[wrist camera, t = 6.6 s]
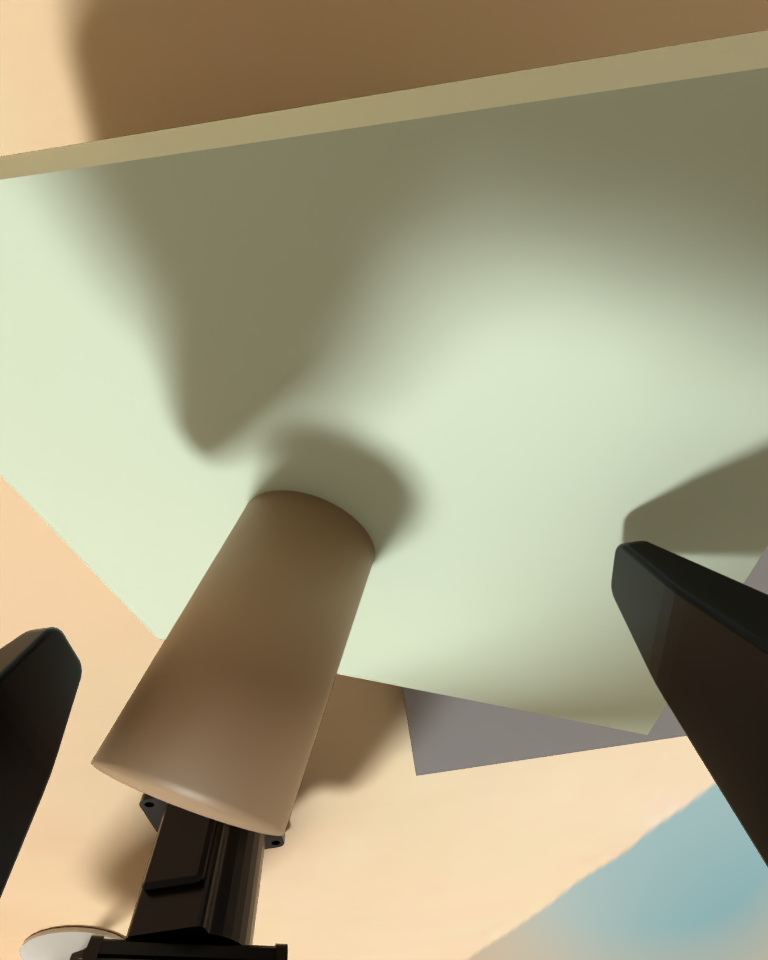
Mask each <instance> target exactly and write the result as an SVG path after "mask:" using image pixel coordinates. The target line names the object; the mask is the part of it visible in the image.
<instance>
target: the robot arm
mask: <svg viewBox="0 0 768 960" xmlns="http://www.w3.org/2000/svg"><path fill="white" fill-rule="evenodd" d="M611 589H612V594H613V597H614V599H615V601H616V604H617V606H618V608H619V610H620V612H621V614H622V616H623V618H624V620H625V622H626V624H627V627H628V629H629V631H630V633H631V635H632V637H633V639H634V641H635V643H636V645H637V647H638V649H639V652H640V654H641V656H642V658H643V660H644V662H645V664H646V666H647V668H648V670H649V672H650V674H651V676H652V678H653V680H654V682H655V684H656V686H657V687H658V689H659V691H660V692H661V694H662V696H663V698H664V699H665V701H666V703H667V704H668V706H669V707H670V709H671V711H672V712H673V714H674V716H675V717H676V719H677V720H678V722H679V724H680V725H681V727H682V729H683V730H684V732H685V733H686V735H687V737H688V738H689V740H690V742H691V743H692V745H693V746H694V748H695V750H696V751H697V753H698V755H699V756H700V758H701V759H702V761H703V763H704V764H705V766H706V768H707V769H708V771H709V772H710V774H711V776H712V777H713V779H714V781H715V782H716V784H717V785H718V787H719V789H720V790H721V792H722V793H723V795H724V797H725V798H726V800H727V802H728V803H729V805H730V807H731V808H732V810H733V811H734V813H735V814H736V816H737V818H738V820H739V821H740V823H741V825H742V826H743V828H744V829H745V831H746V833H747V834H748V836H749V837H750V839H751V841H752V842H753V844H754V846H755V847H756V849H757V850H758V852H759V854H760V855H761V857H762V859H763V860H764V862H765V863H766V865H767V867H768V594H766V593H763V592H761V591H759V590H757V589H754V588H752V587H750V586H747V585H745V584H743V583H741V582H738V581H736V580H734V579H731V578H729V577H727V576H725V575H722V574H720V573H718V572H716V571H713V570H711V569H709V568H706V567H704V566H702V565H700V564H697V563H695V562H693V561H691V560H688V559H686V558H684V557H681V556H679V555H677V554H675V553H672V552H670V551H668V550H666V549H663V548H661V547H659V546H656V545H654V544H652V543H650V542H647V541H635V542H628V543H622V544H620V545H618V546H617V548H616V551H615V556H614V564H613V572H612V579H611ZM81 673H82V669H81V663H80V660H79V659H78V657H77V655H76V654H75V652H74V650H73V649H72V647H71V645H70V644H69V642H68V640H67V639H66V637H65V635H64V634H63V632H62V631H61V630H59V629H58V628H54V627H49V628H42V629H35V630H30V631H27V632H25V633H23V634H22V635H20V636H19V637H17V638H16V639H14V640H13V641H11V642H10V643H8V644H7V645H6V646H4V647H3V648H1V649H0V898H1V895H2V893H3V890H4V888H5V885H6V883H7V881H8V878H9V876H10V873H11V871H12V868H13V866H14V864H15V861H16V859H17V856H18V854H19V851H20V849H21V847H22V844H23V842H24V839H25V837H26V834H27V832H28V830H29V827H30V825H31V822H32V820H33V817H34V815H35V813H36V810H37V808H38V805H39V803H40V800H41V798H42V796H43V793H44V791H45V788H46V785H47V783H48V780H49V778H50V775H51V772H52V769H53V766H54V763H55V760H56V757H57V754H58V751H59V747H60V744H61V741H62V738H63V734H64V731H65V728H66V725H67V721H68V718H69V715H70V712H71V708H72V705H73V702H74V699H75V695H76V692H77V689H78V686H79V682H80V679H81ZM140 807H141V808H142V810H143V811H144V813H145V815H146V816H147V818H148V819H149V821H150V822H151V824H152V825H153V827H154V828H155V830H156V831H157V836H156V839H155V842H154V846H153V849H152V852H151V855H150V859H149V862H148V865H147V868H146V872H145V875H144V878H143V881H142V887H141V890H140V893H139V897H138V900H137V903H136V906H135V910H134V913H133V916H132V920H131V923H130V926H129V929H128V933H127V936H126V940H124V939H104V936H98V935H92V936H91V938H90V940H89V943H88V945H87V948H85V949H83V950H80V951H77V952H74V953H72V954H71V957H70V960H287V954H288V945H287V944H276V945H275V946H259V945H252V943H253V935H254V927H255V919H256V911H257V903H258V896H259V888H260V880H261V872H262V864H263V857H264V849H269V848H276V847H280V846H282V845H283V844H284V841H285V833H284V835H282V836H274V835H268V834H263V833H258V832H254V831H250V830H246V829H243V828H239V827H236V826H233V825H229V824H226V823H223V822H220V821H217V820H214V819H211V818H208V817H205V816H202V815H199V814H196V813H194V812H191V811H188V810H185V809H183V808H180V807H177V806H175V805H172V804H170V803H167V802H165V801H162V800H160V799H157V798H155V797H152V796H150V795H148V794H145V793H144V794H143V795H142V798H141V801H140Z"/></svg>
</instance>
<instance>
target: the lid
mask: <svg viewBox="0 0 768 960" xmlns="http://www.w3.org/2000/svg"><path fill="white" fill-rule="evenodd" d="M0 475H1V476H2V477H3V478H4V479H5V481H6V482H7V483H8V484H9V485H10V486H11V487H12V488H13V489H14V490H15V491H16V492H17V493H18V494H19V495H20V496H21V497H22V498H23V499H24V500H25V501H26V502H27V503H28V505H29V506H30V507H31V508H32V509H33V510H34V511H35V512H36V513H37V514H38V515H39V516H40V517H41V518H42V519H43V520H44V521H45V522H46V523H47V524H48V525H49V526H50V527H51V529H52V530H53V531H54V532H55V533H56V534H57V535H58V536H59V537H60V538H61V539H62V540H63V541H64V542H65V543H66V544H67V545H68V546H69V547H70V548H71V549H72V550H73V551H74V553H75V554H76V555H77V556H78V557H79V558H80V559H81V560H82V561H83V562H84V563H85V564H86V565H87V566H88V567H89V568H90V569H91V570H92V571H93V572H94V573H95V574H96V575H97V577H98V578H99V579H100V580H101V581H102V582H103V583H104V584H105V585H106V586H107V587H108V588H109V589H110V590H111V591H112V592H113V593H114V594H115V595H116V596H117V597H118V598H119V599H120V601H121V602H122V603H123V604H124V605H125V606H126V607H127V608H128V609H129V610H130V611H131V612H132V613H133V614H134V615H135V616H136V617H137V618H138V619H139V620H140V621H141V622H142V624H143V625H144V626H145V627H146V628H147V629H148V630H149V631H150V632H151V633H152V634H153V635H154V636H155V637H156V638H158V639H163V640H165V641H164V643H163V644H162V646H161V648H160V649H159V651H158V653H157V654H156V656H155V657H154V659H153V661H152V662H151V664H150V666H149V667H148V669H147V671H146V672H145V674H144V676H143V677H142V679H141V681H140V682H139V684H138V686H137V687H136V689H135V690H134V692H133V694H132V695H131V697H130V699H129V700H128V702H127V704H126V705H125V707H124V709H123V710H122V712H121V714H120V715H119V717H118V718H117V720H116V722H115V723H114V725H113V727H112V728H111V730H110V732H109V733H108V735H107V737H106V738H105V740H104V742H103V743H102V745H101V747H100V748H99V750H98V751H97V753H96V755H95V756H94V758H93V760H92V761H91V764H92V765H93V766H94V767H95V768H96V769H98V770H99V771H101V772H102V773H104V774H106V775H108V776H110V777H111V778H113V779H115V780H117V781H119V782H121V783H123V784H125V785H128V786H130V787H132V788H134V789H136V790H139V791H141V792H143V793H145V794H148V795H150V796H152V797H155V798H157V799H160V800H162V801H165V802H167V803H170V804H172V805H175V806H177V807H180V808H183V809H185V810H188V811H191V812H194V813H196V814H199V815H202V816H205V817H208V818H211V819H214V820H217V821H220V822H223V823H226V824H229V825H233V826H236V827H239V828H243V829H246V830H250V831H254V832H258V833H263V834H268V835H274V836H282V835H284V833H285V830H286V827H287V824H288V821H289V818H290V815H291V812H292V809H293V806H294V802H295V799H296V796H297V793H298V790H299V787H300V784H301V781H302V778H303V775H304V772H305V769H306V766H307V763H308V760H309V757H310V754H311V751H312V747H313V744H314V741H315V738H316V735H317V732H318V729H319V726H320V723H321V720H322V717H323V714H324V711H325V708H326V705H327V702H328V699H329V695H330V692H331V689H332V686H333V683H334V680H335V677H336V674H340V675H345V676H350V677H355V678H360V679H366V680H371V681H376V682H381V683H386V684H391V685H396V686H401V687H406V688H411V689H416V690H421V691H426V692H431V693H437V694H442V695H447V696H452V697H457V698H462V699H467V700H472V701H477V702H482V703H487V704H492V705H497V706H502V707H508V708H513V709H518V710H523V711H528V712H533V713H538V714H543V715H548V716H553V717H558V718H563V719H568V720H573V721H579V722H584V723H589V724H594V725H599V726H604V727H609V728H614V729H619V730H624V731H629V732H634V733H639V734H644V735H648V734H649V732H650V730H651V729H652V727H653V726H654V724H655V723H656V721H657V719H658V718H659V716H660V715H661V713H662V712H663V710H664V708H665V707H666V705H667V703H666V701H665V699H664V698H663V696H662V694H661V692H660V691H659V689H658V687H657V686H656V684H655V682H654V680H653V678H652V676H651V674H650V672H649V670H648V668H647V666H646V664H645V662H644V660H643V658H642V656H641V654H640V652H639V649H638V647H637V645H636V643H635V641H634V639H633V637H632V635H631V633H630V631H629V629H628V627H627V624H626V622H625V620H624V618H623V616H622V614H621V612H620V610H619V608H618V606H617V604H616V601H615V599H614V597H613V594H612V589H611V579H612V572H613V564H614V556H615V551H616V548H617V546H618V545H620V544H622V543H628V542H635V541H647V542H650V543H652V544H654V545H656V546H659V547H661V548H663V549H666V550H668V551H670V552H672V553H675V554H677V555H679V556H681V557H684V558H686V559H688V560H691V561H693V562H695V563H697V564H700V565H702V566H704V567H706V568H709V569H711V570H713V571H716V572H718V573H720V574H722V575H725V576H727V577H729V578H731V579H734V580H736V581H738V582H741V583H743V584H744V582H745V581H746V579H747V577H748V576H749V574H750V573H751V571H752V570H753V568H754V566H755V565H756V563H757V562H758V560H759V558H760V557H761V555H762V554H763V552H764V551H765V549H766V547H767V546H768V30H765V31H759V32H753V33H747V34H741V35H735V36H728V37H722V38H716V39H710V40H704V41H698V42H692V43H686V44H680V45H674V46H668V47H662V48H656V49H650V50H644V51H638V52H632V53H625V54H619V55H613V56H607V57H601V58H595V59H589V60H583V61H577V62H571V63H565V64H559V65H553V66H547V67H541V68H535V69H528V70H522V71H516V72H510V73H504V74H498V75H492V76H486V77H480V78H474V79H468V80H462V81H456V82H450V83H444V84H438V85H431V86H425V87H419V88H413V89H407V90H401V91H395V92H389V93H383V94H377V95H371V96H365V97H359V98H353V99H347V100H341V101H335V102H328V103H322V104H316V105H310V106H304V107H298V108H292V109H286V110H280V111H274V112H268V113H262V114H256V115H250V116H244V117H238V118H231V119H225V120H219V121H213V122H207V123H201V124H195V125H189V126H183V127H177V128H171V129H165V130H159V131H153V132H147V133H141V134H135V135H128V136H122V137H116V138H110V139H104V140H98V141H92V142H86V143H80V144H74V145H68V146H62V147H56V148H50V149H44V150H38V151H31V152H25V153H19V154H13V155H7V156H1V157H0Z"/></svg>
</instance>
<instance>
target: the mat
mask: <svg viewBox="0 0 768 960" xmlns="http://www.w3.org/2000/svg"><path fill="white" fill-rule="evenodd" d="M744 584H745V585H747V586H750V587H752V588H754V589H757V590H759V591H761V592H763V593H766V594H768V546H767V547H766V549H765V551H764V552H763V554H762V555H761V557H760V558H759V560H758V562H757V563H756V565H755V566H754V568H753V570H752V571H751V573H750V574H749V576H748V577H747V579H746V581H745V582H744ZM402 688H403V695H404V701H405V707H406V714H407V720H408V727H409V733H410V739H411V746H412V752H413V759H414V765H415V771H416V776H418V775H424V774H431V773H438V772H445V771H451V770H458V769H465V768H472V767H478V766H485V765H492V764H499V763H505V762H512V761H519V760H526V759H532V758H539V757H546V756H553V755H559V754H566V753H573V752H579V751H586V750H593V749H600V748H606V747H613V746H620V745H627V744H633V743H640V742H647V741H654V740H660V739H667V738H674V737H681V736H687V735H686V733H685V732H684V730H683V729H682V727H681V725H680V724H679V722H678V720H677V719H676V717H675V716H674V714H673V712H672V711H671V709H670V707H669V706H668V704H667V705H666V707H665V708H664V710H663V712H662V713H661V715H660V716H659V718H658V719H657V721H656V723H655V724H654V726H653V727H652V729H651V730H650V732H649V734H648V735H644V734H639V733H634V732H629V731H624V730H619V729H614V728H609V727H604V726H599V725H594V724H589V723H584V722H579V721H573V720H568V719H563V718H558V717H553V716H548V715H543V714H538V713H533V712H528V711H523V710H518V709H513V708H508V707H502V706H497V705H492V704H487V703H482V702H477V701H472V700H467V699H462V698H457V697H452V696H447V695H442V694H437V693H431V692H426V691H421V690H416V689H411V688H406V687H402Z"/></svg>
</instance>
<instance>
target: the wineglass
mask: <svg viewBox="0 0 768 960" xmlns="http://www.w3.org/2000/svg"><path fill="white" fill-rule="evenodd" d="M92 935H98V936H104V939H124V938H122V937H120V936H118V935H116V934H113V933H110V932H107V931H104V930H99V929H93V928H83V927H63V928H55V929H49V930H45V931H42V932H39V933H36V934H34V935H32V936H30V937H29V938H28V939H26V940H25V941H24V943H23V945H22V947H21V949H20V957H21V958H22V959H23V960H70V957H71V954H72V953H74V952H77V951H80V950H83V949H85V948H87V945H88V943H89V940H90V938H91V936H92ZM124 940H125V939H124Z"/></svg>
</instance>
